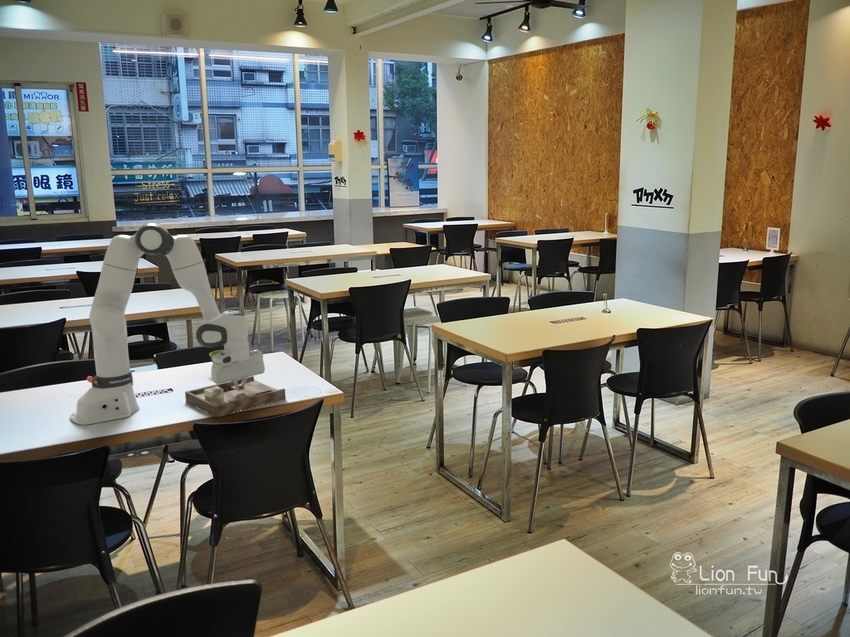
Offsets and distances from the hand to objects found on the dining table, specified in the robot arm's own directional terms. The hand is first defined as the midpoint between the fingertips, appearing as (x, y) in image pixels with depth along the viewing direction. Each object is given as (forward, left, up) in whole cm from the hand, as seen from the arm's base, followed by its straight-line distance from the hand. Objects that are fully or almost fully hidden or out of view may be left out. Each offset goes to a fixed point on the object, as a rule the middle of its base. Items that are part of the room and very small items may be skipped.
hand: (240, 389), depth 270 cm
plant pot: (+12, +38, -4) cm, 40 cm away
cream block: (-11, 0, -1) cm, 11 cm away
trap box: (-2, 0, -4) cm, 4 cm away
